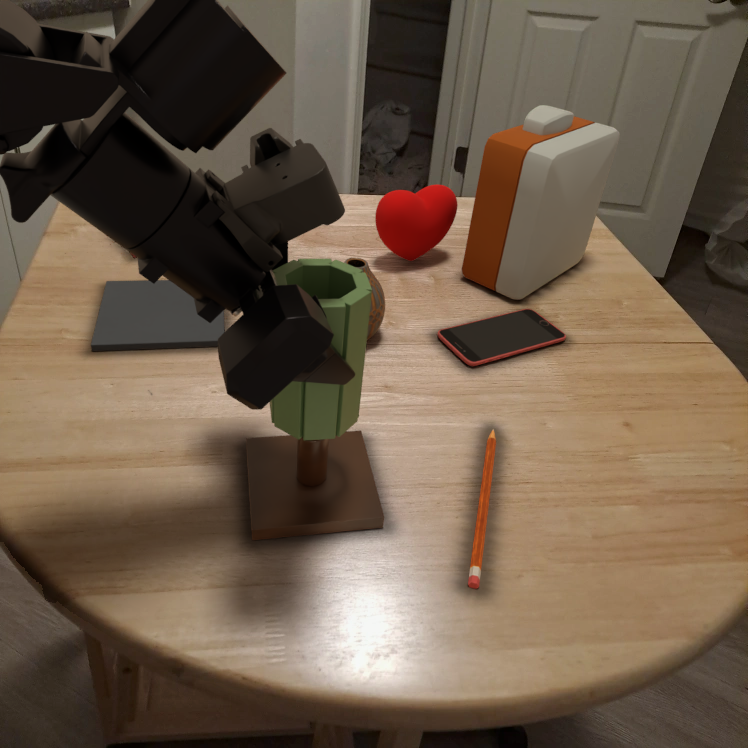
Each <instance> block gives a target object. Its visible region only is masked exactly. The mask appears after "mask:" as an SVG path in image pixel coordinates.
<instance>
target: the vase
mask: <svg viewBox="0 0 748 748" xmlns="http://www.w3.org/2000/svg"><path fill="white" fill-rule="evenodd" d="M343 262H344V263H346V264H348V265H351V266H353V267H356V268H358V269H361V270H363V273H366V275H367V277H368V280H369V283H370V285H371V288H372V296H371V305H370V315H369V324H368V333H367V341H368V340H369V339H371V338H372V337H373V336H374V335H376V333H377V332H378V331H379V329H380V327H381V326H382V324H383V321H384V317H385V312H386V297H385V292H384V289H383V287H382V284H381V283H380V281H379V280H378V278H377V277H376V276H375V274H374V273H373V272H372V270H371V268H370V265H369V262H368V261H367V260H366V259H364V258H360V257H349V258H347V259H345V260H344V261H343Z"/></svg>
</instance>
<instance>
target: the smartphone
mask: <svg viewBox="0 0 748 748" xmlns="http://www.w3.org/2000/svg"><path fill="white" fill-rule="evenodd" d="M436 335H437V338H438V339H439V340H440V341H441V342H442V343H443V344H444V345H445V346H446V347H447V348H449V350H450V351H452V352H453V353H454V355H456V356H457V357H458V358H460V360H461V361H462V362H464V363H465V364H466V365H468V366H470V367H475V366H479V365H483V364H486V363H490V362H493V361H498V360H500V359H501V360H502V359H504V358H508V357H511V356H514V355H515V356H516V355H519V354H523V353H525V352H529V351H533V350H536V349H539V348H543V347H547V346H551V345H553V344H559V343H560V342H563V341H565V340H566V338H567V335H566V333H564V332H563V331H562V330H561V329H560V328H559V327H557V326H556V325H554V324H553V323H552V322H550V321H549V320H548V319H546V318H545V317H544V316H542V315H541V314H540V313H538V312H537V311H535V310H534V309H532V308H523V309H519V310H515V311H511V312H507V313H503V314H499V315H498V314H497V315H494V316H490V317H486V318H482V319H478V320H473V321H470V322H465V323H462V324H458V325H454V326H450V327H445V328H441V329H439V330H438V331H437V334H436Z"/></svg>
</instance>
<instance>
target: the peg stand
mask: <svg viewBox="0 0 748 748" xmlns="http://www.w3.org/2000/svg"><path fill="white" fill-rule="evenodd" d="M245 448H246V450H245V451H246V465H247V479H248V480H247V481H248V483H247V484H248V495H249V496H248V497H249V498H248V499H249V512H250V528H251V530H250V531H251V540H252V541H259V540H269V539H270V540H271V539H279V538H280V539H281V538H290V537H299V536H300V537H301V536H309V535H310V536H311V535H321V534H330V533H340V532H342V533H343V532H351V531H352V532H353V531H363V530H373V529H381V528H384V524H385V523H384V522H385V515H384V511H383V507H382V504H381V500H380V495H379V491H378V489H377V485H376V482H375V481H376V480H375V477H374V474H373V469H372V466H371V462H370V458H369V455H368V451H367V447H366V443H365V440H364V436H363V432H362V430H350V431H349V430H347V431H346V432H345V433H344V434H342V435H341V436H340V437H338V436H336V437H335V438H334V439H320V440H303V437H302V438H300V439H299V440H298V439H297V438H295V437H293V436H291V435H289V434H285V435H271V436H259V437H258V436H257V437H245Z"/></svg>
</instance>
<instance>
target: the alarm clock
mask: <svg viewBox="0 0 748 748" xmlns="http://www.w3.org/2000/svg"><path fill="white" fill-rule="evenodd" d="M620 136H621V133H620V132H619V130H617V129H616V128H615V127H613V126H610V125H606V124H603V123H599V122H595V121H592V120H589V119H585V118H582V117H578V116H575V114H574V112H573V111H569V110H566V109H562V108H559V107H555V106H552V105H546V104H541V105H538V106H536V107H534V108H532V109H531V110H530V111H529V112H528V113H527V114H526V116H525V119H524V121H523V124H520V125H517V126H514V127H510V128H508V129H504V130H501V131H498V132H495V133H492V134H491V135H490V136H489V137H488V138H487V141H486V142H485V145H484V148H483V152H482V153H483V154H482V158H481V164H480V168H479V175H478V180H477V184H476V185H477V186H476V191H475V192H476V193H475V196H474V201H473V205H472V206H473V207H472V212H471V218H470V224H469V229H468V232H467V233H468V234H467V239H466V244H465V250H464V254H463V260H462V266H461V273H462V275H463V277H464V278H465V279H468V280H470V281H471V282H474V283H476V284H479V285H481V286H483V287H485V288H487V289H489V290H491V291H495V292H496V293H498V294H500V295H503V296H505V297H506V298H509V299H512V300H523V299H524V298H526V297H527V296H529V295H531V294H532V293H534V292H535V291H537V290H538V289H540V288H541V287H543V286H544V285H546V284H548V283H549V282H551V281H552V280H554V279H555V278H557V277H558V276H560V275H562V274H563V273H564V272H566V271H568V270H569V269H572V267H574V266H575V265H578V263H580V261H581V260H582V259H583V257H584V255H585V253H586V250H587V247H588V243H589V240H590V237H591V234H592V231H593V227H594V223H595V220H596V218H597V213H598V211H599V208H600V204H601V201H602V197H603V193H604V191H605V188H606V186H607V185H606V184H607V181H608V178H609V175H610V171H611V169H612V166H613V161H614V158H615V155H616V152H617V148H618V145H619V143H620V142H619V141H620Z"/></svg>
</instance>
